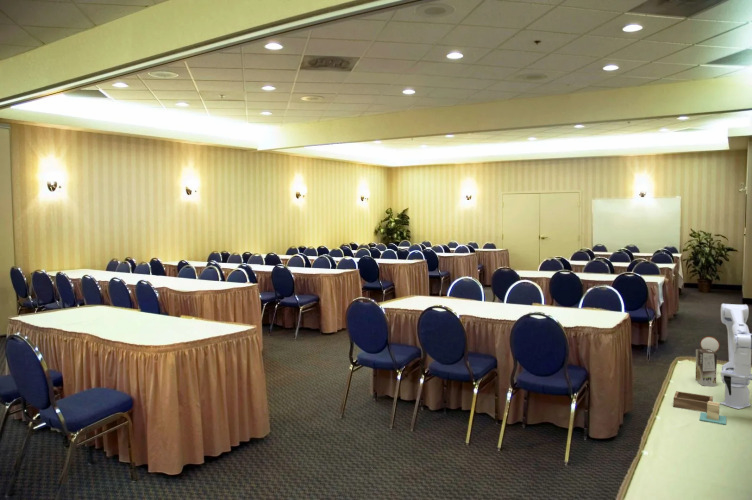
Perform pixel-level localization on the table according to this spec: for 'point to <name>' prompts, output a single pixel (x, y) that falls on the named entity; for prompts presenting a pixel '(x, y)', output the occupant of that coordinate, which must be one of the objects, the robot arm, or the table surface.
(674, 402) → the walnut crate
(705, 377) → the coffee box
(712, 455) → the table surface
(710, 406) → the maple block
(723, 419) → the teal mat
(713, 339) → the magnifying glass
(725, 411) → the table surface
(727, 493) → the table surface
